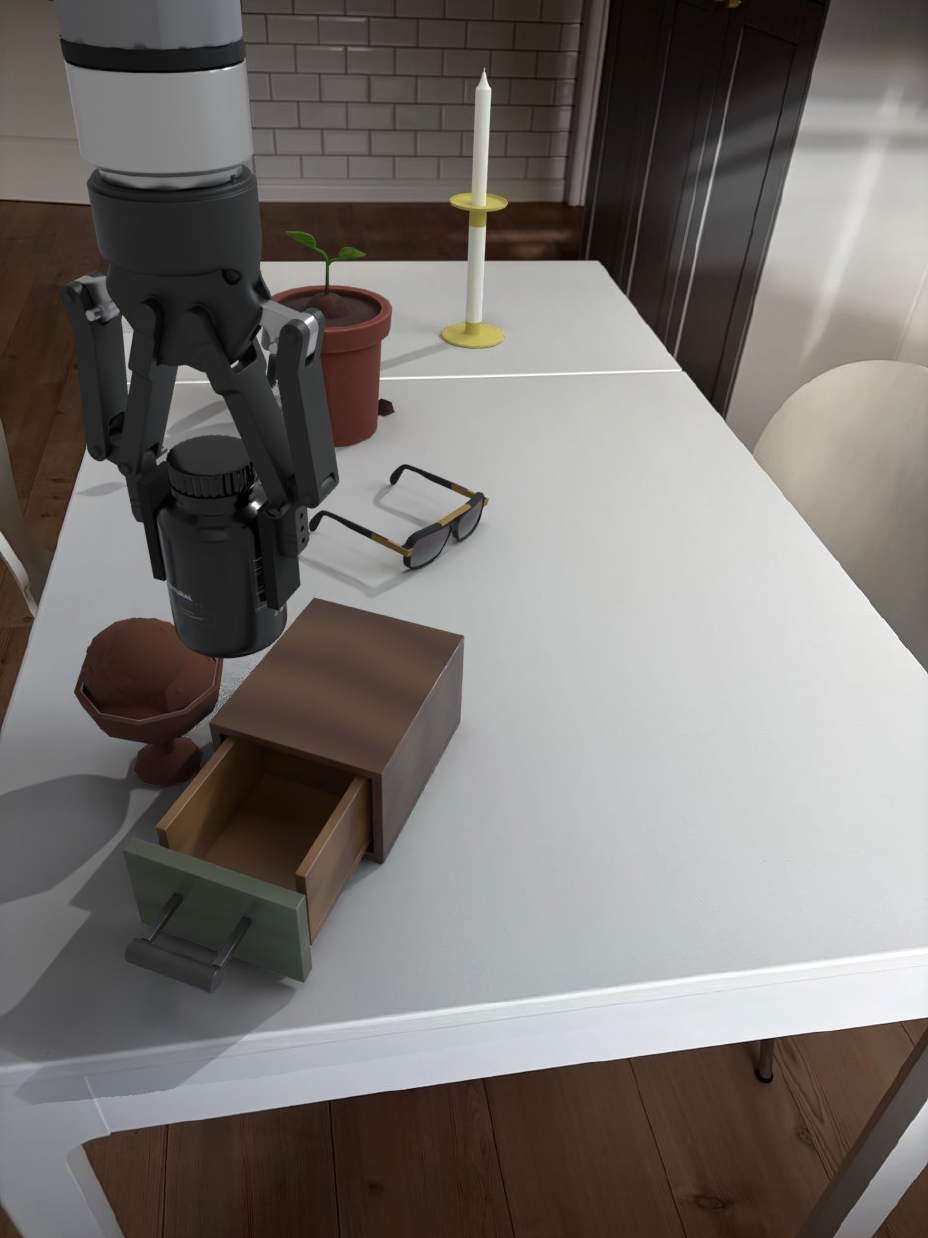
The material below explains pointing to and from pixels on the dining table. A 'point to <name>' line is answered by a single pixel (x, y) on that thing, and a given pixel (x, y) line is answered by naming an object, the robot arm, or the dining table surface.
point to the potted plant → (344, 348)
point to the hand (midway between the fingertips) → (227, 581)
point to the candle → (477, 233)
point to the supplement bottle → (216, 549)
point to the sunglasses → (432, 538)
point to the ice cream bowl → (150, 694)
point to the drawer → (248, 863)
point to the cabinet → (355, 704)
